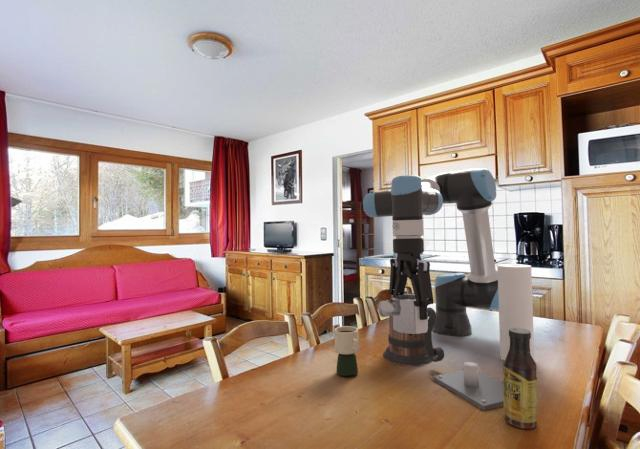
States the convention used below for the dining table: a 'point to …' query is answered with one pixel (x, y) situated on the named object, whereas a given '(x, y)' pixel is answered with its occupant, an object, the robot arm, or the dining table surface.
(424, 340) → the tankard
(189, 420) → the dining table surface
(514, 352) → the sauce bottle
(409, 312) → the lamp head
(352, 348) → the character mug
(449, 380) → the grey peg base plate
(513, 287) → the cylinder container
